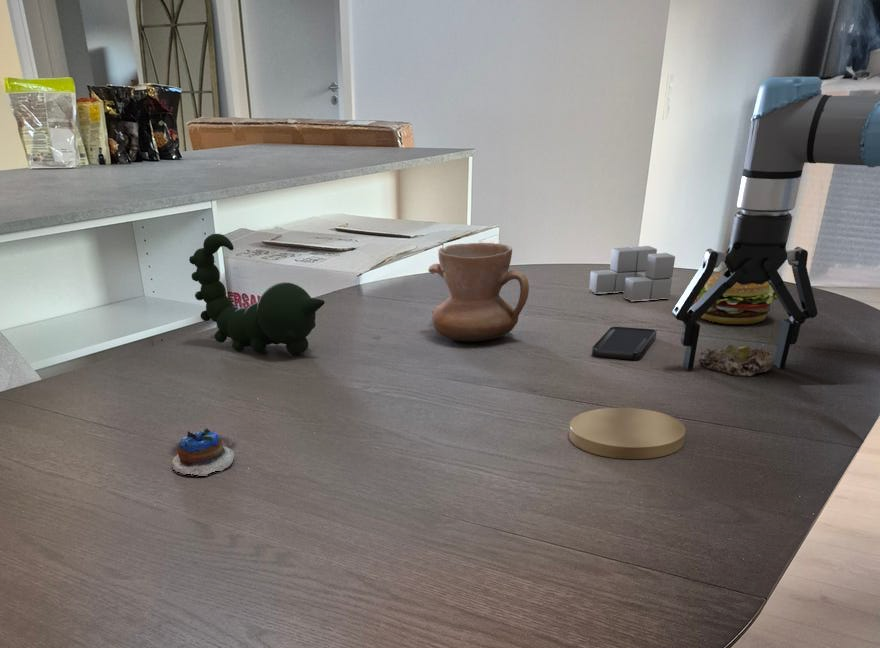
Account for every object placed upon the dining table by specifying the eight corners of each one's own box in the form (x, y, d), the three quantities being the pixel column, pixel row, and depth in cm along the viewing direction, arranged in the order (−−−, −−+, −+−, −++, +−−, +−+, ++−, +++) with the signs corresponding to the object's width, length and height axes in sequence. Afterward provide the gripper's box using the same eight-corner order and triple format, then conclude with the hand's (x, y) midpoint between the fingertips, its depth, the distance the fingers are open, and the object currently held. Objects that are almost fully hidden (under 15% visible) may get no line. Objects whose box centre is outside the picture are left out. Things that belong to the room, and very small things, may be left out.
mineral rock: (780, 348, 128) (774, 346, 121) (774, 378, 129) (767, 378, 123) (707, 343, 132) (697, 341, 126) (702, 372, 134) (692, 372, 127)
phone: (590, 348, 134) (612, 325, 146) (590, 356, 135) (611, 332, 146) (640, 353, 132) (658, 329, 143) (639, 360, 132) (657, 336, 143)
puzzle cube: (588, 291, 174) (592, 249, 169) (643, 287, 175) (649, 245, 171) (611, 304, 164) (615, 260, 160) (669, 299, 166) (675, 256, 161)
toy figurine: (197, 359, 146) (315, 363, 134) (170, 239, 136) (295, 232, 125) (232, 345, 153) (347, 348, 141) (208, 230, 143) (330, 223, 131)
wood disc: (668, 417, 111) (670, 406, 110) (697, 458, 100) (699, 446, 99) (561, 419, 112) (562, 408, 111) (578, 460, 100) (579, 448, 99)
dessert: (193, 442, 106) (208, 408, 102) (234, 475, 107) (251, 444, 103) (154, 470, 101) (168, 435, 97) (197, 505, 101) (213, 473, 97)
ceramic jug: (410, 342, 145) (408, 252, 137) (448, 322, 156) (449, 238, 148) (507, 354, 138) (511, 260, 130) (540, 332, 148) (546, 244, 140)
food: (766, 331, 145) (776, 281, 140) (684, 322, 151) (691, 275, 147) (783, 313, 154) (793, 266, 150) (705, 306, 161) (712, 261, 156)
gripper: (845, 205, 119) (807, 358, 131) (666, 209, 120) (644, 360, 132) (868, 213, 113) (826, 372, 125) (679, 217, 113) (655, 375, 125)
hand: (733, 367), depth 128 cm, fingers open, 13 cm apart
